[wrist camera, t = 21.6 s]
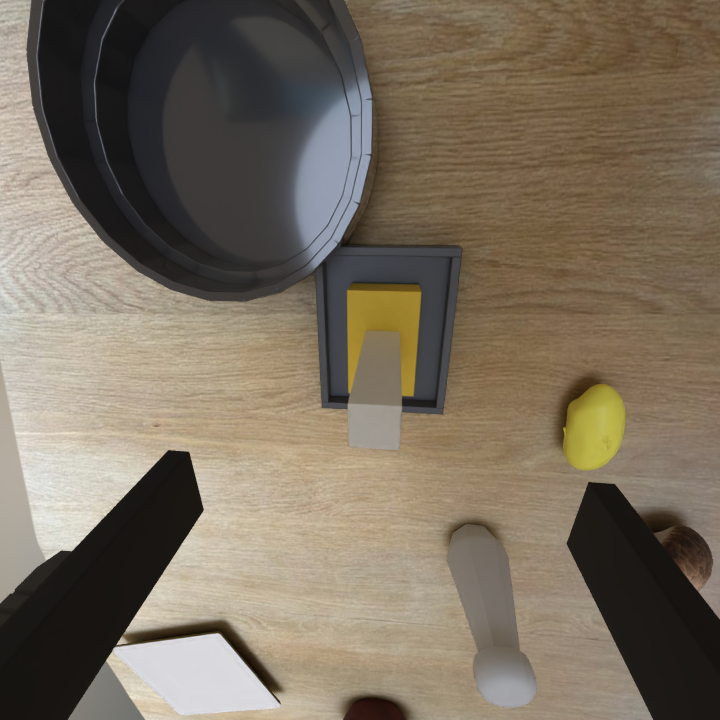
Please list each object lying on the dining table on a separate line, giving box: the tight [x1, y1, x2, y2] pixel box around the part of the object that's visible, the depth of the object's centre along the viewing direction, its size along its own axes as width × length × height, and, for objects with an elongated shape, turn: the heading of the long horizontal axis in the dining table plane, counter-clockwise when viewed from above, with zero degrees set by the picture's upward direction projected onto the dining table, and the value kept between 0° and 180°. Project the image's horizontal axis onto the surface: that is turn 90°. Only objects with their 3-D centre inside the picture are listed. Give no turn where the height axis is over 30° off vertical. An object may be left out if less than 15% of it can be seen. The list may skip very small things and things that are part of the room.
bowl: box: [26, 0, 378, 302], centre depth 21 cm, size 18×18×6 cm
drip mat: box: [315, 244, 462, 414], centre depth 27 cm, size 13×10×2 cm
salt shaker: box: [447, 524, 537, 707], centre depth 30 cm, size 6×6×13 cm
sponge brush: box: [347, 282, 421, 450], centre depth 21 cm, size 8×5×13 cm, turn 0°
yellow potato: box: [563, 384, 626, 470], centre depth 27 cm, size 4×8×4 cm, turn 178°
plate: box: [112, 631, 281, 715], centre depth 51 cm, size 19×19×2 cm
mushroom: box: [653, 524, 713, 591], centre depth 32 cm, size 8×8×6 cm
